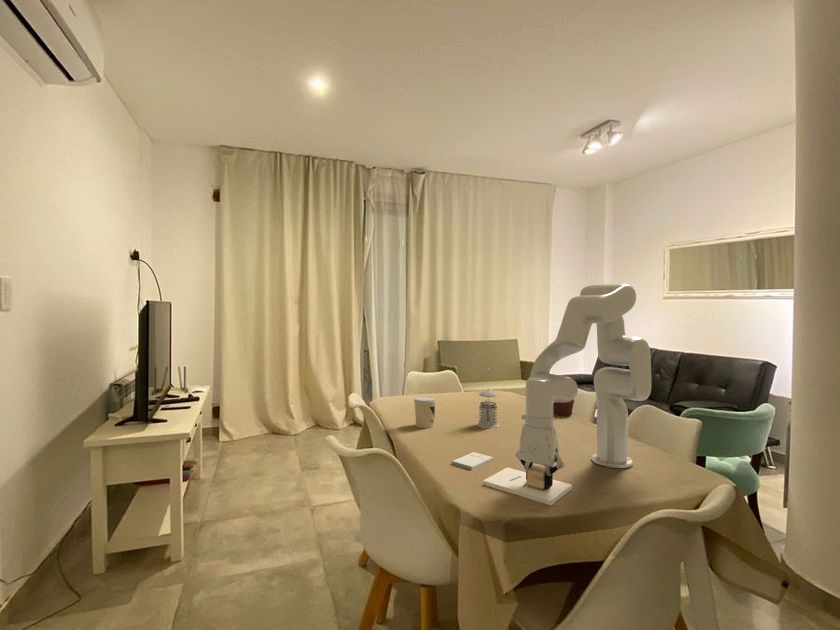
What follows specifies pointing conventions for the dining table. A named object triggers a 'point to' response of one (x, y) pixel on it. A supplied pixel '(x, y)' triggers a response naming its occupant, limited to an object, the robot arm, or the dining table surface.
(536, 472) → the block
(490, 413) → the french press
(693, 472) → the dining table surface
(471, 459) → the external hard drive
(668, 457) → the dining table surface
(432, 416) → the coffee cup
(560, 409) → the muffin
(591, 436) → the dining table surface
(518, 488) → the board
